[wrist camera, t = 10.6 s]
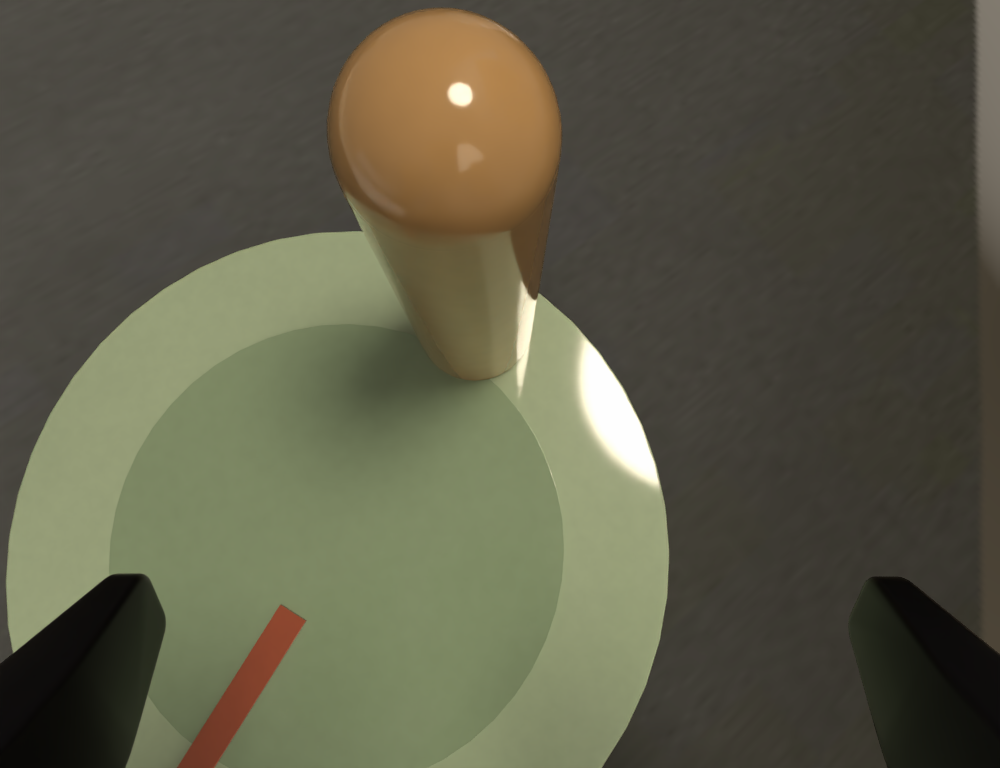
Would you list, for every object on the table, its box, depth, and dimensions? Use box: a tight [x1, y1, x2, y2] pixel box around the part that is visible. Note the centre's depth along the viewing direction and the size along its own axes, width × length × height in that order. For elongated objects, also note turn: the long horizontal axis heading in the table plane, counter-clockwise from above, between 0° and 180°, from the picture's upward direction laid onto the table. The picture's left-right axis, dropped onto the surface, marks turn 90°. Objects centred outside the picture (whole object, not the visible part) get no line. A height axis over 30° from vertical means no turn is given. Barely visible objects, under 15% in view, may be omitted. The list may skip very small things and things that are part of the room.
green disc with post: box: [6, 8, 669, 768], centre depth 13 cm, size 18×18×13 cm
